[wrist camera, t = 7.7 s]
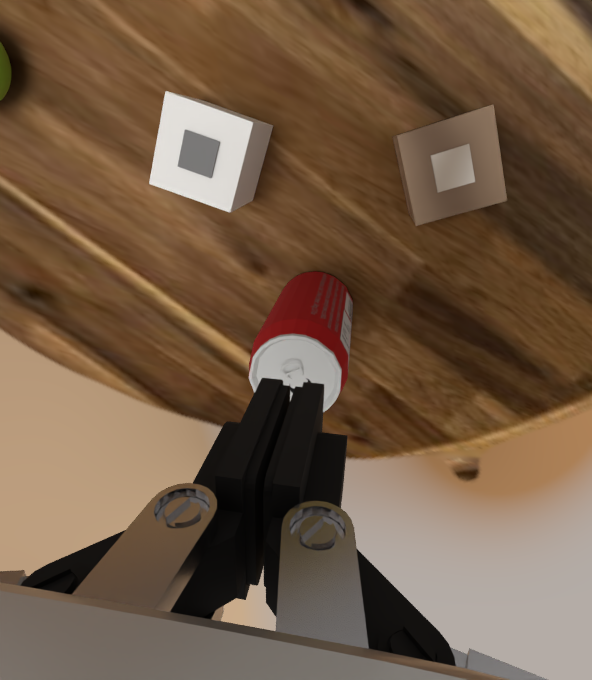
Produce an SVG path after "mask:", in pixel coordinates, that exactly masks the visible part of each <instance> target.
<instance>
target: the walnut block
mask: <svg viewBox="0 0 592 680" xmlns="http://www.w3.org/2000/svg"><path fill="white" fill-rule="evenodd" d="M392 137H393V142H394V147H395V151H396V156H397V161H398V165H399V170H400V175H401V179H402V184H403V188H404V193H405V198H406V202H407V207H408V212H409V215H410V216H411V218H412V220H413V222H414V223H415V225H416V226H418V225H421V224H425V223H428V222H432V221H436V220H439V219H443V218H446V217H450V216H454V215H457V214H461V213H464V212H468V211H472V210H475V209H479V208H483V207H486V206H490V205H493V204H497V203H501V202H504V201H507V196H506V189H505V182H504V175H503V168H502V161H501V154H500V147H499V140H498V133H497V126H496V119H495V112H494V105H490V106H486V107H483V108H479V109H476V110H472V111H469V112H466V113H463V114H460V115H457V116H454V117H451V118H448V119H445V120H442V121H438V122H435V123H432V124H429V125H426V126H423V127H420V128H417V129H414V130H411V131H408V132H405V133H402V134H399V135H396V136H392Z"/></svg>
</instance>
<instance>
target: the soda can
mask: <svg viewBox="0 0 592 680" xmlns="http://www.w3.org/2000/svg"><path fill="white" fill-rule="evenodd" d="M352 311H353V300H352V298H351V296H350V294H349V292H348V289H347V287H346V286H345V285H344V284H343V283H341V282H340V281H339V280H338V279H337V278H335V277H334V276H331V275H329V274H326V273H324V272H316V271H314V272H307V273H303V274H300V275H298V276H296V277H295V278H293V279H292V280H291V281H290V282H288V283H287V285H286V286H285V288H284V289H283V290H282V292H281V294H280V296H279V298H278V299H277V301H276V303H275V305H274V307H273V308H272V310H271V312H270V314H269V316H268V317H267V319H266V321H265V323H264V325H263V326H262V328H261V330H260V332H259V334H258V335H257V337H256V339H255V341H254V344H253V349H252V353H251V358H250V362H249V371H250V373H249V380H250V383H251V385H252V388H253V390H254V393H255V391H256V389H257V387H258V385H259V383H260V381H261V379H262V378H271V379H281V380H283V385H287V386H290V401H291V398H292V395H293V392H294V389H295V387H296V386H297V387H302V386H303V383H304V382H310V383H319V384H324V404H323V412H324V411H326V410H327V409H329V408H330V406H331V405H332V404H333V403H334V402H335V401H336V399H337V397H338V395H339V393H340V392H341V391H342V389H343V387H344V385H345V383H346V381H347V378H348V365H349V353H350V340H351V327H352Z"/></svg>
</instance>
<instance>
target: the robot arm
mask: <svg viewBox="0 0 592 680" xmlns="http://www.w3.org/2000/svg"><path fill="white" fill-rule="evenodd" d="M323 404H324V384H319V383H310V382H304V383H303V386H302V387H297V386H296V387H295V389H294V392H293V395H292V398H291V401H290V386H287V385H283V380H281V379H271V378H262V379H261V381H260V383H259V385H258V387H257V389H256V391H255V393H254V395H253V397H252V399H251V402H250V404H249V406H248V408H247V410H246V412H245V414H244V416H243V418H242V420H241V422H240V423H236V422H226V423H225V424H224V425H223V427H222V429H221V431H220V433H219V435H218V437H217V439H216V440H215V442H214V444H213V446H212V448H211V450H210V452H209V454H208V455H207V457H206V459H205V461H204V463H203V465H202V467H201V469H200V470H199V472H198V474H197V476H196V478H195V480H194V482H193V484H192V483H185V484H177V485H174V486H171V487H168V488H166V489H165V490H163V491H161V492H159V493H158V494H157V495H156V496H155V497H154V498H153V499H152V500H151V501H150V502H149V503H148V504H147V506H146V507H145V508H144V509H143V510H142V512H141V513H140V514H139V515H138V516H137V517H136V519H135V520H134V521H133V522H132V523H131V525H130V526H129V527H128V528H127V529H126V530H125V531H122V532H120V533H118V534H116V535H113V536H111V537H109V538H107V539H104V540H102V541H100V542H97V543H95V544H93V545H90V546H88V547H86V548H84V549H81V550H79V551H77V552H75V553H72V554H70V555H68V556H65V557H63V558H61V559H59V560H56V561H54V562H52V563H49V564H47V565H46V566H44V567H42V568H40V569H38V570H36V571H35V572H34V573H32V574H31V575H30V576H26V574H25V571H24V570H21V571H3V572H2V571H1V572H0V680H547V679H544V678H542V677H539V676H537V675H535V674H532V673H530V672H527V671H525V670H522V669H519V668H517V667H514V666H512V665H509V664H507V663H505V662H502V661H500V660H497V659H495V658H492V657H490V656H487V655H484V654H482V653H479V652H477V651H474V650H472V649H469V651H468V654H465V653H462V652H460V651H458V650H455V649H453V648H450V646H449V644H448V642H447V641H446V640H445V639H444V637H443V636H442V635H441V634H440V632H439V631H438V630H437V629H436V628H435V627H434V626H433V625H432V624H431V623H430V622H429V621H428V620H427V619H426V618H425V617H424V616H423V615H422V614H421V613H420V612H419V611H418V610H417V609H416V608H415V607H414V606H413V605H412V604H411V603H410V602H409V601H408V600H407V599H406V598H405V597H404V596H403V595H402V594H401V593H400V592H399V591H398V590H397V589H396V588H395V587H394V586H393V585H392V584H391V583H390V582H389V581H388V580H387V579H386V578H385V577H384V576H383V575H382V574H381V573H380V572H379V571H378V570H377V569H376V568H375V567H374V566H373V565H372V564H371V563H370V562H369V561H368V560H367V559H366V558H365V557H364V556H363V555H362V554H361V553H360V552H359V551H358V550H357V549H356V540H355V533H354V527H353V524H352V521H351V519H350V517H349V516H348V515H347V513H346V512H345V511H343V510H342V509H341V501H342V491H343V481H344V470H345V460H346V448H347V435H338V434H330V433H322V422H323ZM263 566H264V586H265V587H266V603H267V604H268V606H269V607H270V609H271V610H272V612H273V613H274V615H275V616H276V631H270V630H265V629H260V628H255V627H249V626H244V625H238V624H233V623H227V622H222V621H221V618H222V615H223V606H224V605H225V604H227V603H229V602H230V601H232V600H234V599H235V598H238V599H244V600H246V597H247V593H248V590H249V586H250V584H252V585H258V583H259V580H260V577H261V573H262V569H263Z"/></svg>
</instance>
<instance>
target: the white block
mask: <svg viewBox="0 0 592 680" xmlns="http://www.w3.org/2000/svg"><path fill="white" fill-rule="evenodd" d="M272 129H273V125H270V124H268V123H265V122H262V121H259V120H256V119H254V118H251V117H248V116H245V115H242V114H240V113H237V112H234V111H231V110H228V109H226V108H223V107H220V106H217V105H214V104H212V103H209V102H206V101H203V100H200V99H196V98H192V97H188V96H184V95H180V94H176V93H172V92H168V91H166V92H165V97H164V103H163V109H162V114H161V120H160V126H159V131H158V137H157V142H156V148H155V154H154V159H153V165H152V171H151V176H150V182H149V184H151V185H154V186H157V187H160V188H163V189H165V190H168V191H171V192H174V193H177V194H179V195H182V196H185V197H188V198H191V199H193V200H196V201H199V202H202V203H205V204H207V205H210V206H213V207H216V208H219V209H221V210H224V211H227V212H232V211H234V210H236V209H238V208H240V207H242V206H244V205H246V204H247V203H249V202H251V201H253V198H254V194H255V191H256V187H257V184H258V180H259V176H260V173H261V169H262V165H263V162H264V158H265V154H266V151H267V147H268V143H269V140H270V136H271V132H272Z"/></svg>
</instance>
